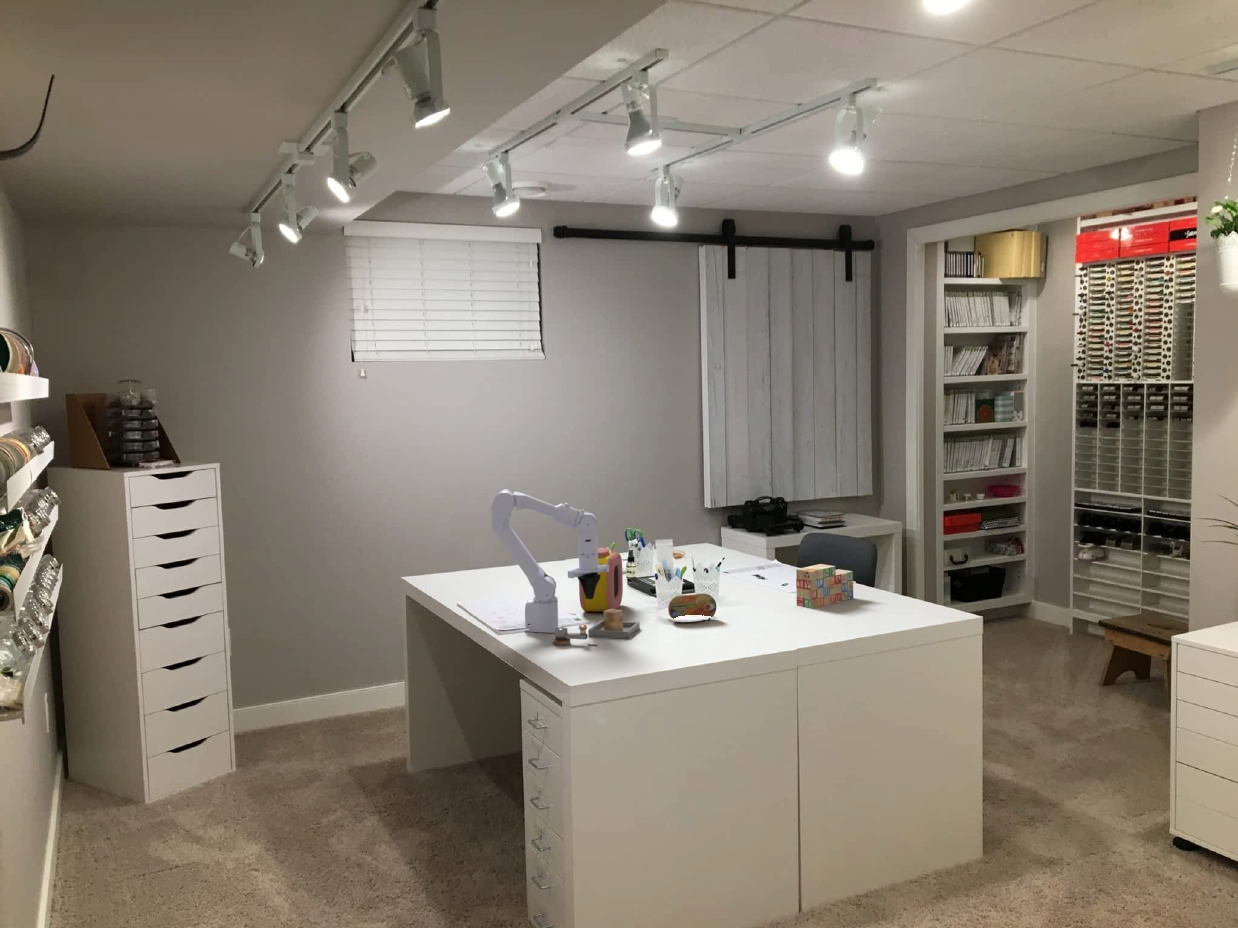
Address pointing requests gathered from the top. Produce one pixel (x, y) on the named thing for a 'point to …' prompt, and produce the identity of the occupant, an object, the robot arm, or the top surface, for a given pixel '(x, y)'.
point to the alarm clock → (605, 584)
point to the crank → (564, 635)
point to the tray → (627, 632)
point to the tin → (692, 605)
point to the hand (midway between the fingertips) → (589, 598)
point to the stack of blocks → (822, 585)
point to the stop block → (613, 620)
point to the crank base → (563, 642)
